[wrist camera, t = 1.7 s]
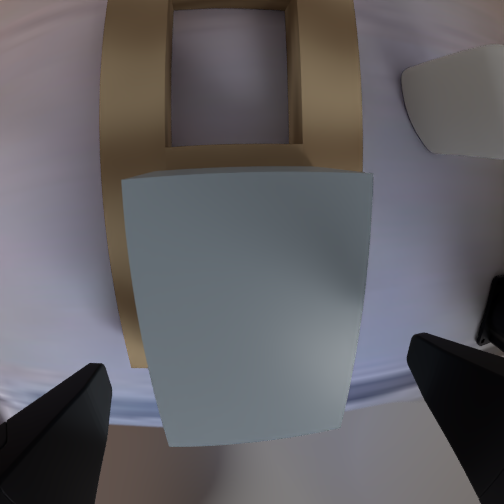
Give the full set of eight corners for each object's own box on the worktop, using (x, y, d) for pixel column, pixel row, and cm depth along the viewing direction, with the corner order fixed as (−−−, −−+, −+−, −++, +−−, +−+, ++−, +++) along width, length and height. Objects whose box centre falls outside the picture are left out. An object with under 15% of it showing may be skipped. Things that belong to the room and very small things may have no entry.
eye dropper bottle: (450, 79, 16) (599, 61, 4) (447, 158, 17) (607, 184, 6) (398, 59, 15) (558, 9, 4) (396, 145, 17) (577, 160, 5)
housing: (305, 356, 17) (340, 427, 12) (176, 367, 16) (169, 446, 11) (313, 166, 14) (373, 173, 9) (154, 171, 13) (121, 179, 8)
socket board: (332, 329, 20) (347, 350, 17) (138, 343, 18) (131, 367, 16) (334, 4, 14) (351, -13, 11) (121, 3, 12) (110, -17, 10)
